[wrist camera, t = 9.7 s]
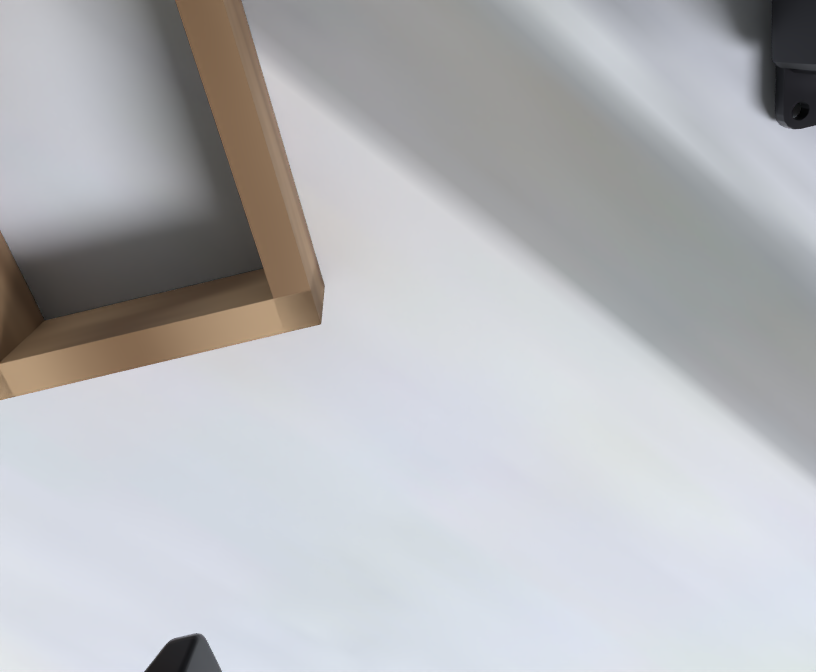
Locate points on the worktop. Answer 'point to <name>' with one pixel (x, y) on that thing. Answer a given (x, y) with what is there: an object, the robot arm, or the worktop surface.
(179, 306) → the dock
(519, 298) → the worktop surface
